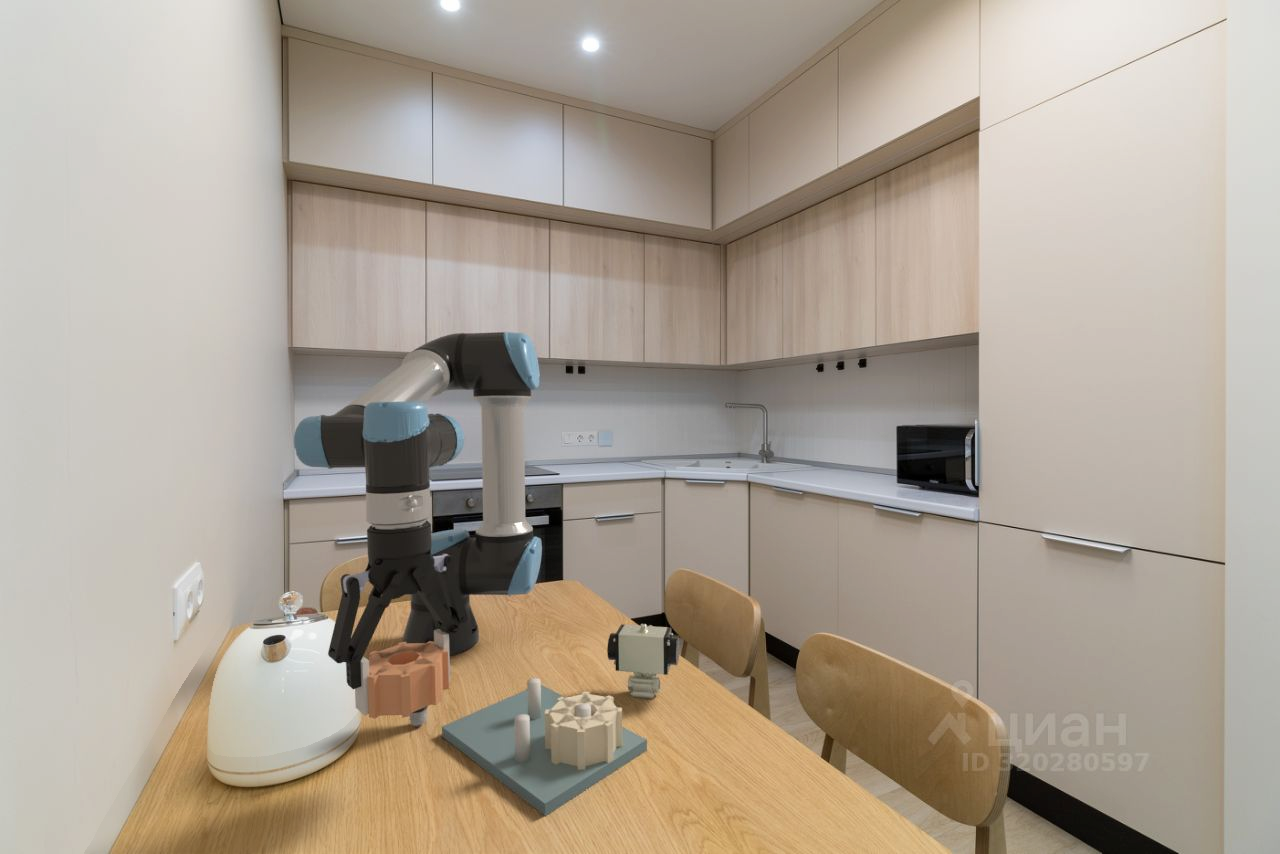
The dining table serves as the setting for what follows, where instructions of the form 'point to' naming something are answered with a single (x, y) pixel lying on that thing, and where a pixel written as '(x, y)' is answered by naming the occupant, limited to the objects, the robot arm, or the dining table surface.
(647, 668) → the pneumatic valve
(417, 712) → the light bulb
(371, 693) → the loose gear
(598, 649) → the dining table surface
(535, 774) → the gear board
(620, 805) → the dining table surface
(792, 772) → the dining table surface
